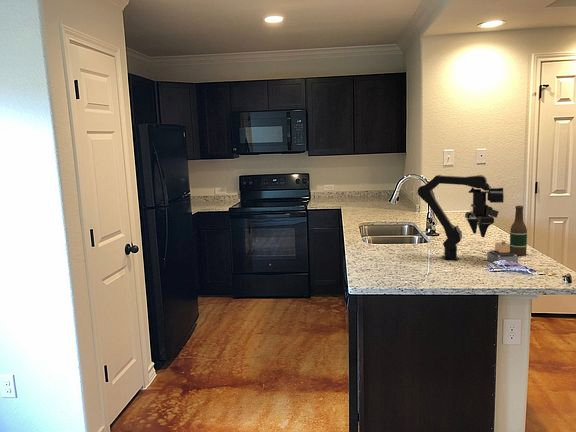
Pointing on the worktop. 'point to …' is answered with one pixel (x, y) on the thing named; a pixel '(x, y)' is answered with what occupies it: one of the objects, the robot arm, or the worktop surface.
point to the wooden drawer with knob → (502, 248)
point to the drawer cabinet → (501, 256)
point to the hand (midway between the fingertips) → (478, 235)
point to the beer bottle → (518, 234)
